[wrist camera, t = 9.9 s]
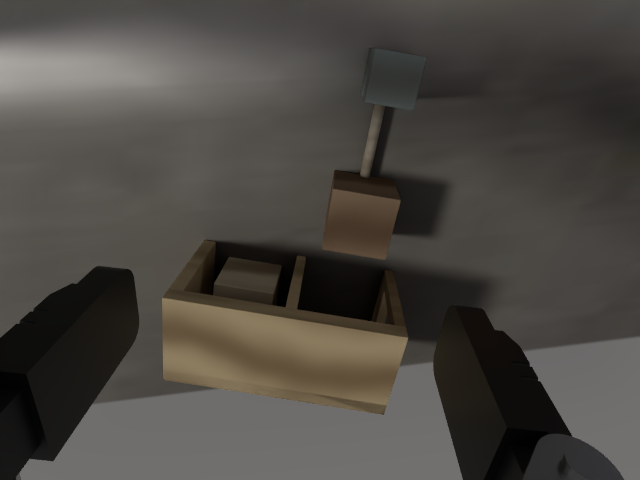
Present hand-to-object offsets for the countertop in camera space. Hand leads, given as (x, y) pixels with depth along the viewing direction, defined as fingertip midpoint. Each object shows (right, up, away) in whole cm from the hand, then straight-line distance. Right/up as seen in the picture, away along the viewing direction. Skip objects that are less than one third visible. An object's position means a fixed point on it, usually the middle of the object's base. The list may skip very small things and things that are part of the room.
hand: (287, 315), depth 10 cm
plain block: (-5, -2, +27) cm, 28 cm away
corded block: (+5, +9, +21) cm, 24 cm away
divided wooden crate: (-2, -3, +27) cm, 27 cm away
